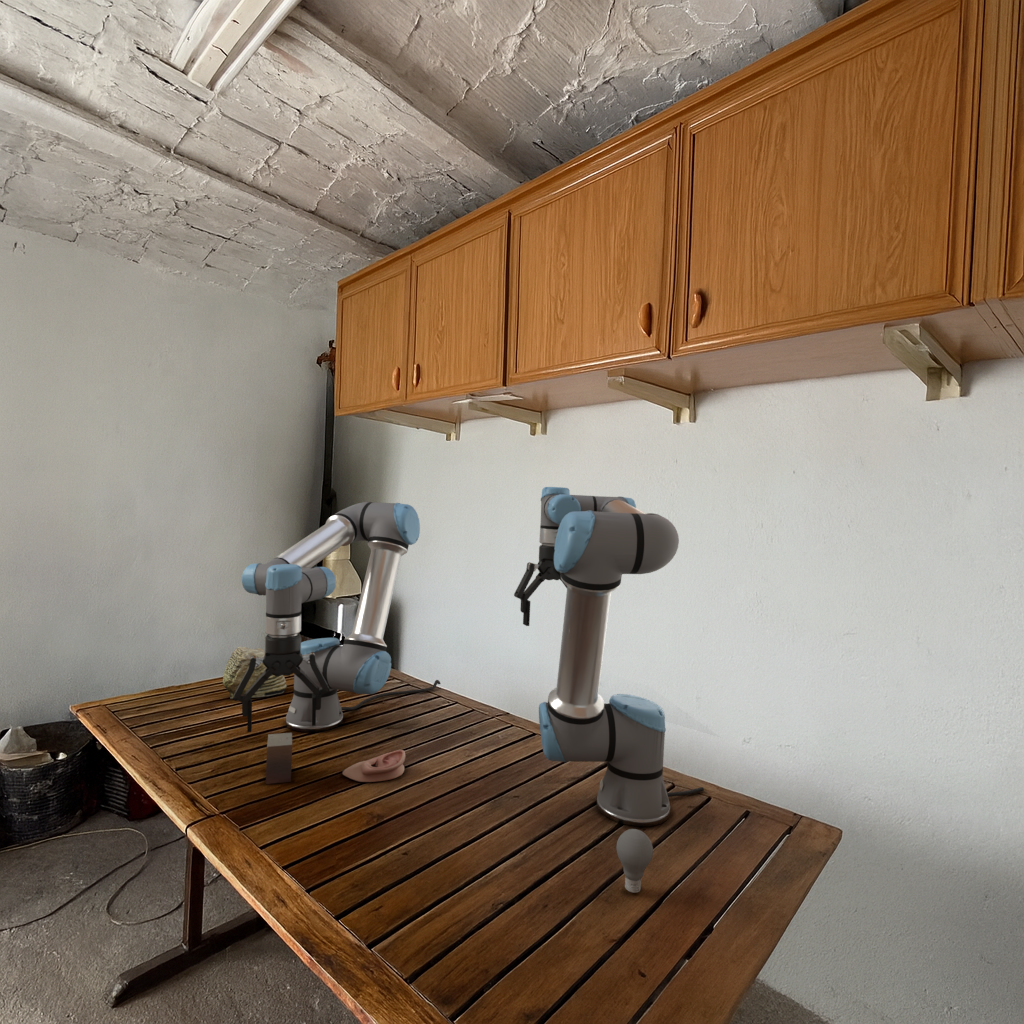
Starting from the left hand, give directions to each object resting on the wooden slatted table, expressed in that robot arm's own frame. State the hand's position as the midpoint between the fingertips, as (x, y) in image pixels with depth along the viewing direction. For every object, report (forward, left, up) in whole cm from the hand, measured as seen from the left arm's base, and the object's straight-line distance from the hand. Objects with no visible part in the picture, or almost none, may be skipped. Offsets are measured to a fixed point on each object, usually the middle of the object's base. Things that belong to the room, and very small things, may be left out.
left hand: (282, 726), depth 143 cm
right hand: (-59, +31, +21) cm, 70 cm away
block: (+1, 0, -11) cm, 11 cm away
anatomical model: (-15, +14, -11) cm, 24 cm away
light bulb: (-16, +80, -11) cm, 83 cm away
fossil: (-25, -56, -11) cm, 63 cm away
